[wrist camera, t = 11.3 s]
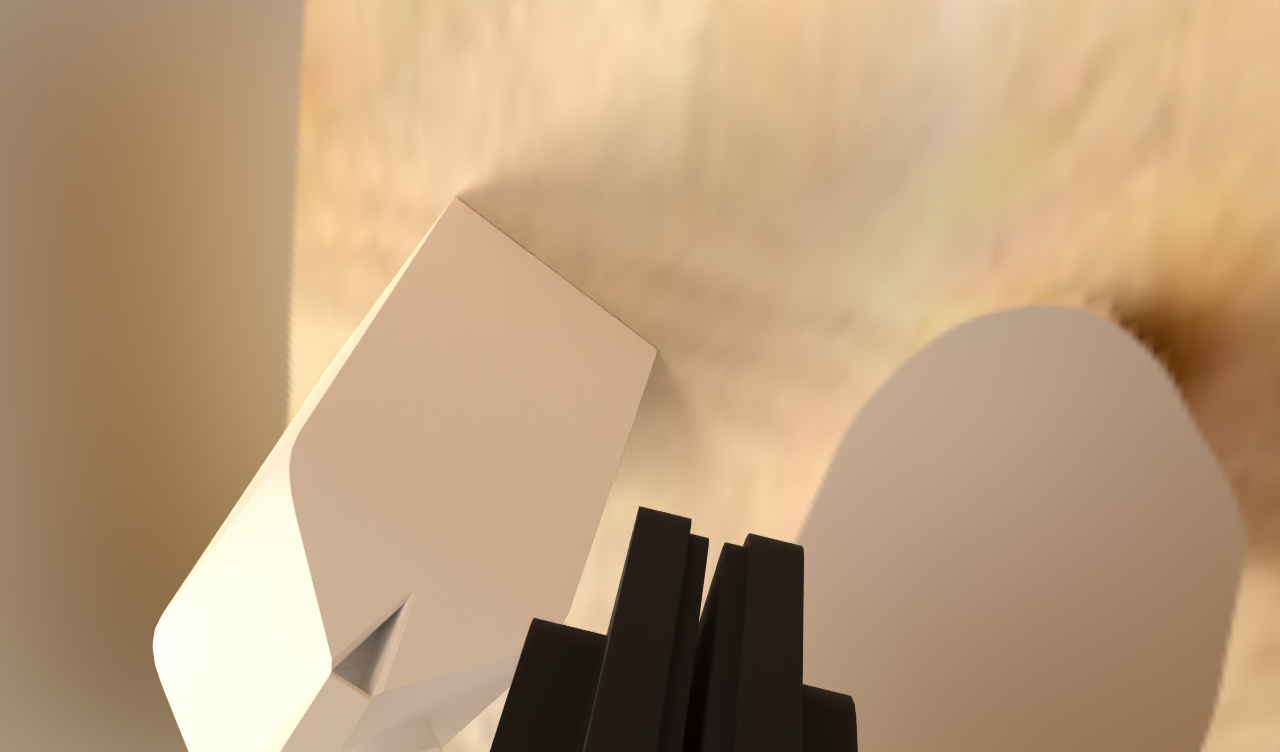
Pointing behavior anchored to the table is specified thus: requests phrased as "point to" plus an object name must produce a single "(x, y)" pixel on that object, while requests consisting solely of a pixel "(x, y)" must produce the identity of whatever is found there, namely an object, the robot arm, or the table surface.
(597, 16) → the table surface
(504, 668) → the milk
